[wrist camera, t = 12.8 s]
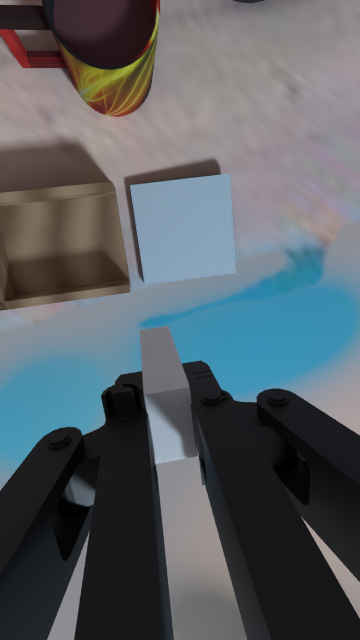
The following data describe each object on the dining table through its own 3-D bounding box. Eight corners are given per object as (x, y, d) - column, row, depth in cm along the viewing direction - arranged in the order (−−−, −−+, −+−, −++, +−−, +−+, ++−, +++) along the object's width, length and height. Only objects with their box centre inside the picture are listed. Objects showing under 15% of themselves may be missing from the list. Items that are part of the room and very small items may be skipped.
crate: (114, 187, 41) (111, 181, 35) (130, 284, 44) (130, 292, 39) (-14, 200, 39) (-36, 196, 34) (14, 300, 43) (-2, 310, 38)
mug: (21, 64, 36) (-32, -12, 24) (125, 3, 35) (121, -103, 24) (70, 148, 39) (43, 115, 27) (166, 92, 39) (180, 36, 27)
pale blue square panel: (228, 174, 41) (229, 173, 40) (234, 272, 45) (235, 273, 44) (130, 186, 41) (129, 185, 40) (145, 283, 45) (144, 284, 44)
